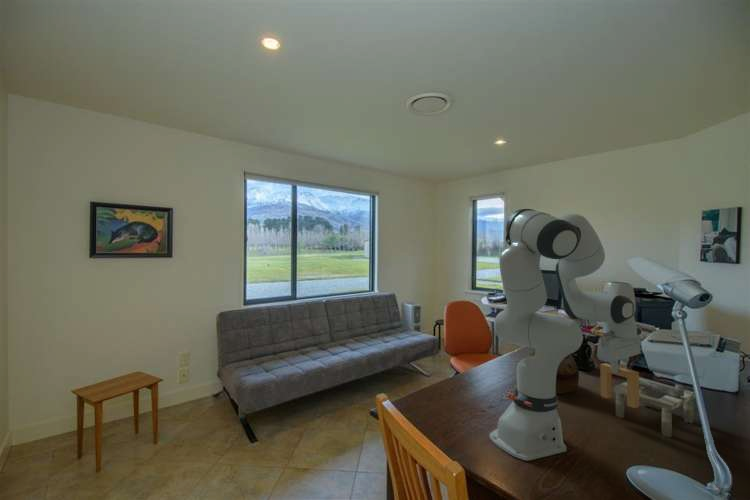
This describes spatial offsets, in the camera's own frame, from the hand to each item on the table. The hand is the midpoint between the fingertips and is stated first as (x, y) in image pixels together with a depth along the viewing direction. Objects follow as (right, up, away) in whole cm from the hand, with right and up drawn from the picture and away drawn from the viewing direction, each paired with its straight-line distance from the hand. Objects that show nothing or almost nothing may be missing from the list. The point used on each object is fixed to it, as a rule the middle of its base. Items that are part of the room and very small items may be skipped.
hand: (619, 371), depth 109 cm
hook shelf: (+14, -18, +3) cm, 23 cm away
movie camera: (+16, -18, +57) cm, 62 cm away
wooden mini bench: (0, -10, 0) cm, 10 cm away
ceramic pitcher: (-7, -18, +29) cm, 35 cm away
